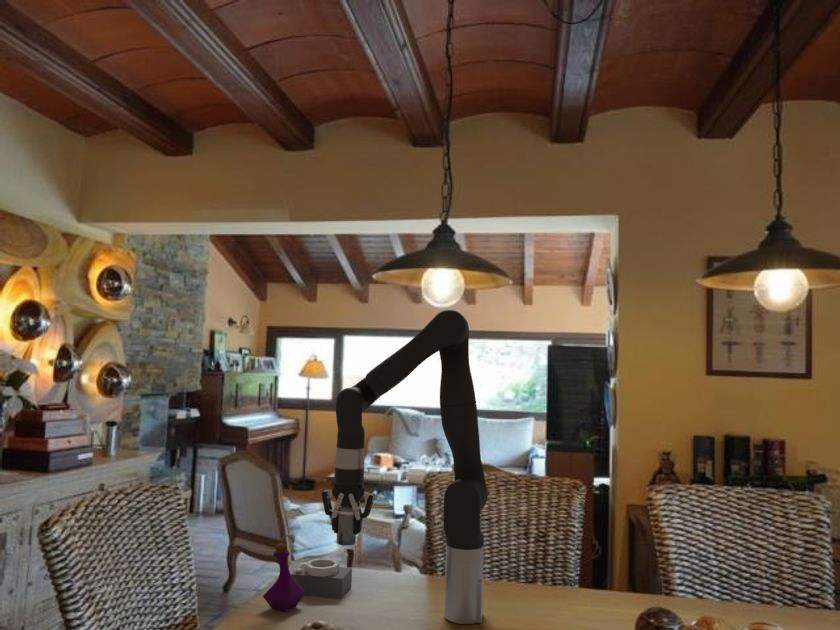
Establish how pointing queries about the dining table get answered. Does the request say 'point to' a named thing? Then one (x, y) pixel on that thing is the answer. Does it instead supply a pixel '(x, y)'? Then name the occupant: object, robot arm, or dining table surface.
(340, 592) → the camera body
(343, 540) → the lens
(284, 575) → the perfume bottle
